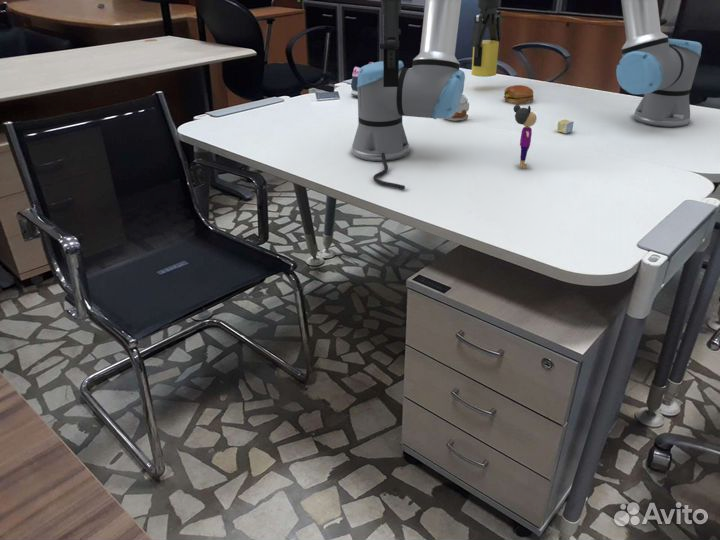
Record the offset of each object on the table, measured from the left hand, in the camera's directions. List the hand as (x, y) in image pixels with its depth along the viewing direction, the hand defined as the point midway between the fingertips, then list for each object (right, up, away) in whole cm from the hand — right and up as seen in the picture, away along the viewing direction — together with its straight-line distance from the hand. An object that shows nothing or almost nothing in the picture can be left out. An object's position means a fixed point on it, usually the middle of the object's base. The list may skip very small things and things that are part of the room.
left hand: (390, 78), depth 109 cm
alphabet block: (+54, +4, +57) cm, 78 cm away
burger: (+49, +21, +87) cm, 102 cm away
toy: (+34, -11, +34) cm, 49 cm away
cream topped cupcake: (+24, +11, +71) cm, 76 cm away
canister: (+39, +35, +99) cm, 113 cm away
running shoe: (+2, +30, +103) cm, 107 cm away
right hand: (+39, +38, +98) cm, 112 cm away
